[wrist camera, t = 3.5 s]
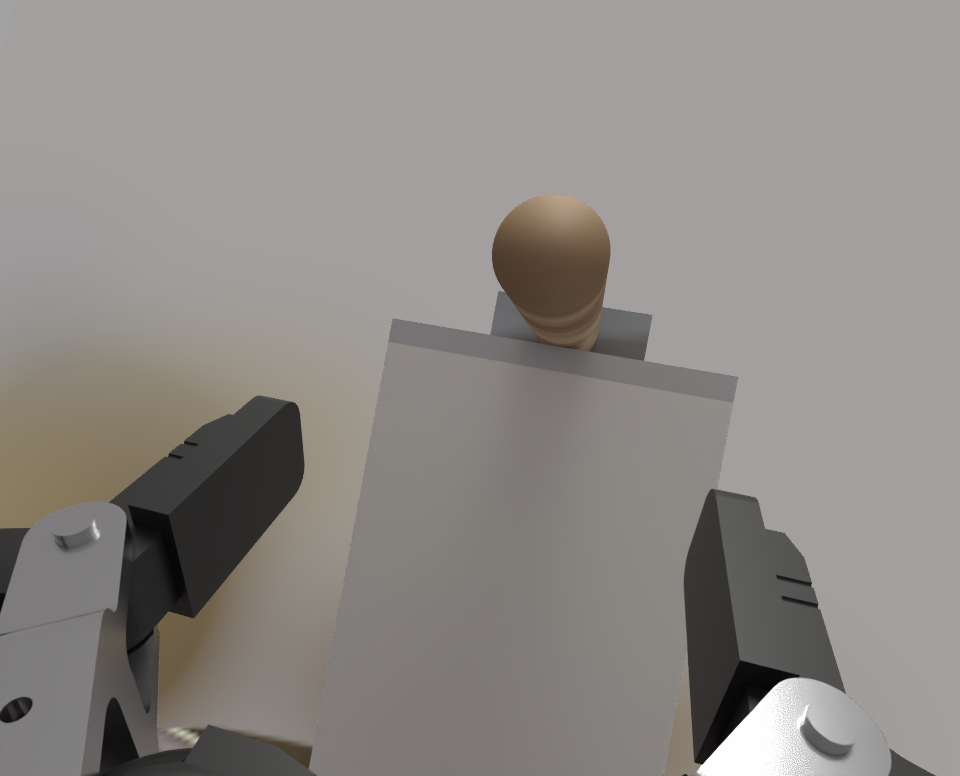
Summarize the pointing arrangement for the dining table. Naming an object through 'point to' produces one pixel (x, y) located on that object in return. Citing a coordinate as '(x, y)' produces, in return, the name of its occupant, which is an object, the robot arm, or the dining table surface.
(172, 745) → the dining table surface
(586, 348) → the mallet
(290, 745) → the dining table surface
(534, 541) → the stand
